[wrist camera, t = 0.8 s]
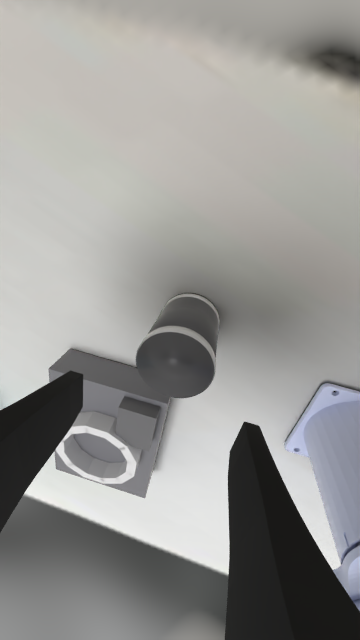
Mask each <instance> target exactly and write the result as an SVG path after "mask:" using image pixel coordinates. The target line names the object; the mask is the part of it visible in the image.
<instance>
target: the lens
mask: <svg viewBox="0 0 360 640" xmlns="http://www.w3.org/2000/svg"><path fill="white" fill-rule="evenodd" d="M219 326H220V319H219V314H218V312H217V310H216V308H215V306H214V305H213V304H212V303H211V302H210V301H209V300H208V299H207V298H205V297H203V296H201V295H198V294H194V293H184V294H180V295H177V296H175V297H173V298H172V299H170V300H169V301H168V302H167V303H166V305H165V306H164V308H163V309H162V311H161V314H160V316H159V317H158V319H157V320H156V322H155V324H154V325H153V327H152V328H151V330H150V332H149V333H148V335H147V336H146V337H145V338H144V340H143V341H142V343H141V345H140V346H139V348H138V350H137V354H136V365H137V369H138V372H139V374H140V376H141V378H142V379H143V380H144V382H145V383H146V384H147V385H148V386H149V387H151V388H152V389H153V390H155V391H157V392H158V393H161V394H163V395H166V396H169V397H174V398H188V397H192V396H196V395H198V394H200V393H201V392H203V391H204V390H205V389H207V388H208V387H209V385H210V384H211V382H212V381H213V378H214V375H215V367H216V348H217V339H218V332H219Z"/></svg>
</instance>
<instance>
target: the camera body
mask: <svg viewBox="0 0 360 640" xmlns="http://www.w3.org/2000/svg"><path fill="white" fill-rule="evenodd" d="M70 370H71V371H74V372H77V373H81V374H83V407H82V409H81V411H80V413H79V415H78V416H77V418H76V420H75V422H74V423H73V425H72V427H71V428H70V430H69V431H68V433H67V434H66V435H65V437H64V438H63V440H62V441H61V442H60V444H59V445H58V446H57V448H56V449H55V462H56V469H57V470H60V471H63V472H67V473H70V474H73V475H76V476H79V477H82V478H85V479H88V480H91V481H94V482H97V483H100V484H103V485H106V486H109V487H112V488H115V489H118V490H121V491H124V492H127V493H130V494H133V495H136V496H140V497H143V498H145V496H146V493H147V489H148V486H149V482H150V479H151V475H152V472H153V468H154V464H155V460H156V456H157V452H158V448H159V444H160V440H161V436H162V432H163V428H164V424H165V420H166V416H167V412H168V408H169V404H170V400H171V397H169V396H166V395H163V394H161V393H158V392H157V391H155V390H153V389H152V388H151V387H149V386H148V385H147V384H146V383H145V382H144V380H143V379H142V378H141V376H140V374H139V372H138V369H137V368H136V367H132V366H129V365H125V364H122V363H118V362H115V361H111V360H108V359H104V358H101V357H97V356H94V355H90V354H87V353H83V352H80V351H77V350H73V349H69V350H68V351H67V352H66V353H65V354H64V355H63V356H62V357H61V358H60V359H59V360H58V361H56V362H55V363H54V364H53V365H52V366H51V367H50V368H49V381H50V382H52V381H53V380H55V379H57V378H58V377H60V376H62V375H63V374H65V373H67V372H69V371H70Z"/></svg>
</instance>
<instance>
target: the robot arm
mask: <svg viewBox="0 0 360 640" xmlns="http://www.w3.org/2000/svg"><path fill="white" fill-rule="evenodd" d="M333 391H336V392H333ZM82 407H83V374H81V373H77V372H74V371H71V370H70V371H69V372H67V373H65V374H63V375H62V376H60V377H58V378H57V379H55V380H53V381H52V382H50V383H48V384H47V385H45V386H43V387H42V388H40V389H38V390H37V391H35V392H33V393H31V394H30V395H28V396H26V397H24V398H23V399H21V400H19V401H17V402H15V403H14V404H12V405H10V406H8V407H6V408H4V409H2V410H0V532H1V531H2V529H3V527H4V525H5V524H6V522H7V520H8V519H9V517H10V515H11V514H12V512H13V510H14V509H15V507H16V506H17V504H18V502H19V501H20V499H21V498H22V496H23V494H24V493H25V491H26V489H27V488H28V487H29V485H30V484H31V482H32V481H33V479H34V478H35V476H36V475H37V474H38V472H39V471H40V470H41V468H42V467H43V466H44V464H45V463H46V461H47V460H48V459H49V457H50V456H51V455H52V453H53V452H54V451H55V449H56V448H57V446H58V445H59V444H60V442H61V441H62V440H63V438H64V437H65V435H66V434H67V433H68V431H69V430H70V428H71V427H72V425H73V423H74V422H75V420H76V418H77V416H78V415H79V413H80V411H81V409H82ZM284 445H285V449H286V450H287V451H289V452H292V453H296V454H299V455H303V456H306V457H309V458H310V461H311V465H312V468H313V471H314V475H315V478H316V481H317V485H318V488H319V492H320V495H321V498H322V502H323V505H324V508H325V512H326V515H327V518H328V522H329V525H330V529H331V532H332V535H333V539H334V542H335V545H336V549H337V552H338V555H339V559H340V562H341V566H340V567H339V568H337V569H334V570H332V569H331V567H330V565H329V564H328V562H327V561H326V559H325V557H324V556H323V554H322V552H321V551H320V549H319V547H318V546H317V544H316V542H315V541H314V539H313V537H312V535H311V534H310V532H309V530H308V528H307V527H306V525H305V523H304V521H303V519H302V517H301V516H300V514H299V512H298V510H297V508H296V506H295V504H294V502H293V500H292V498H291V496H290V494H289V492H288V490H287V488H286V486H285V484H284V482H283V480H282V478H281V476H280V473H279V471H278V469H277V467H276V465H275V462H274V460H273V458H272V456H271V453H270V451H269V449H268V446H267V444H266V441H265V439H264V436H263V434H262V431H261V429H260V427H259V426H258V425H255V424H251V423H248V422H244V423H243V425H242V427H241V429H240V432H239V434H238V436H237V438H236V440H235V442H234V444H233V446H232V448H231V450H230V457H229V470H228V502H229V537H230V560H229V580H228V598H227V614H226V630H225V640H360V392H359V391H355V390H352V389H348V388H344V387H341V386H337V385H334V384H330V383H326V384H323V385H322V386H321V387H320V388H319V390H318V391H317V393H316V395H315V396H314V398H313V399H312V401H311V402H310V404H309V406H308V407H307V409H306V410H305V412H304V414H303V415H302V417H301V418H300V420H299V421H298V423H297V425H296V426H295V428H294V429H293V431H292V433H291V434H290V436H289V437H288V439H287V440H286V442H285V444H284Z"/></svg>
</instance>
